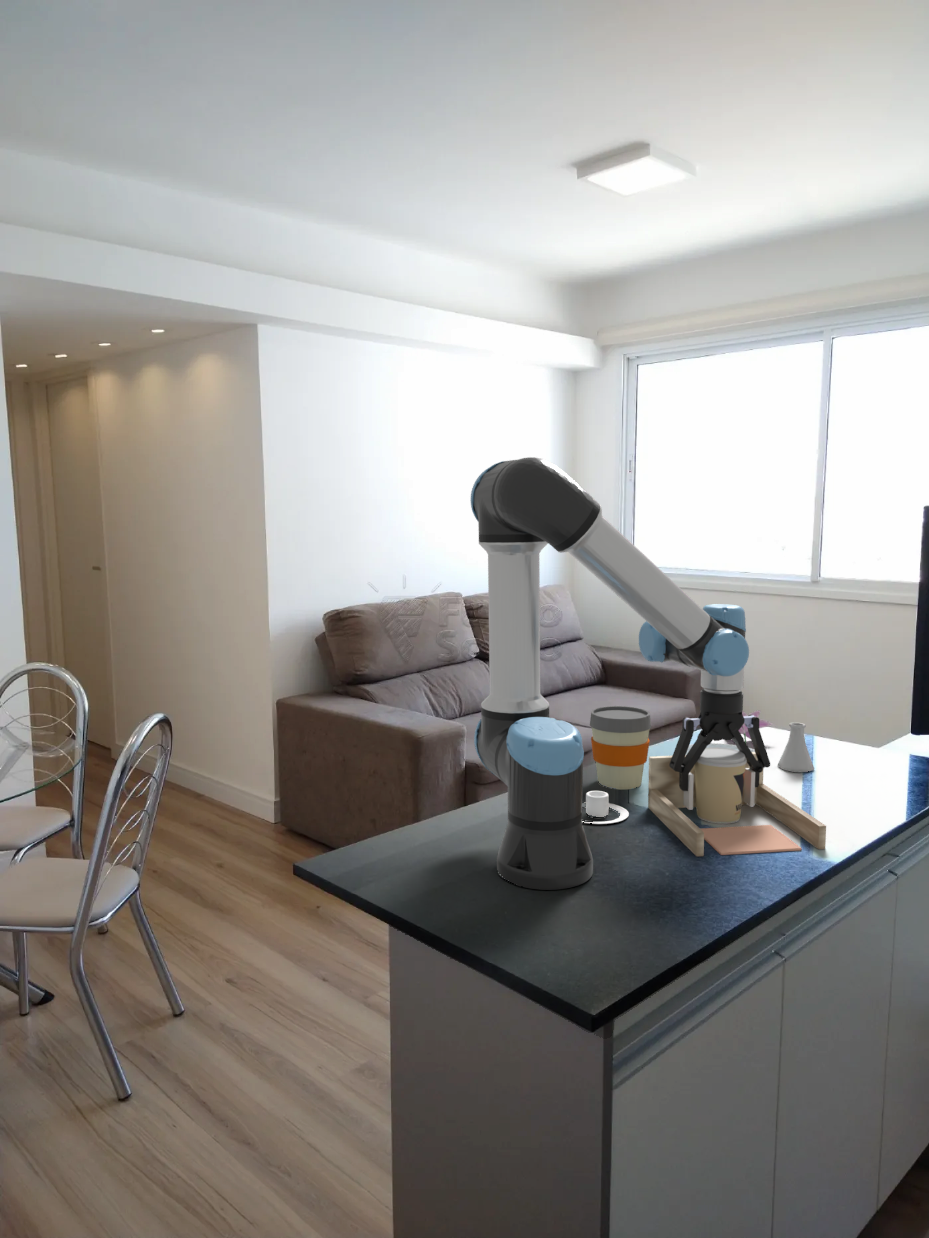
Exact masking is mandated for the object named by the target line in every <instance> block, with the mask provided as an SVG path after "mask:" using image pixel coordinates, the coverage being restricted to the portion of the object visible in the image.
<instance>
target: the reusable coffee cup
mask: <svg viewBox="0 0 929 1238" xmlns="http://www.w3.org/2000/svg"><path fill="white" fill-rule="evenodd" d="M589 719H590V720H589V726H590V727H591V731H592V732H591V734H592V736H591V738H590V742H591V749H592V750H591V752H592V757H593V758H592V759H593V761H594V762H595V765H596V766H595V767H596V773H597V774H596V775H597V782H598V781H599V783H601V784H602V785H605V786H607V787H612V788H616V789H615V790H633V789H636V787H637V788H640V786H641V785H642V781H643V774H644V770H645V769H644V768H645V764H646V763H647V761H648V757H649V755H648V753H649V749H650V741H651V740H650V739H649V736H650V735H649V734H650V729H651V728H652V721H651V713H650V711H648V710H646V709H644V708H640V707H635V706H628V705H627V706H626V705H624V706H623V705H608V706H601V707H597V708H594V709H591V711H590V718H589ZM599 783H598V784H599ZM607 787H606V788H607ZM612 788H611V789H612ZM632 788H633V789H632Z"/></svg>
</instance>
